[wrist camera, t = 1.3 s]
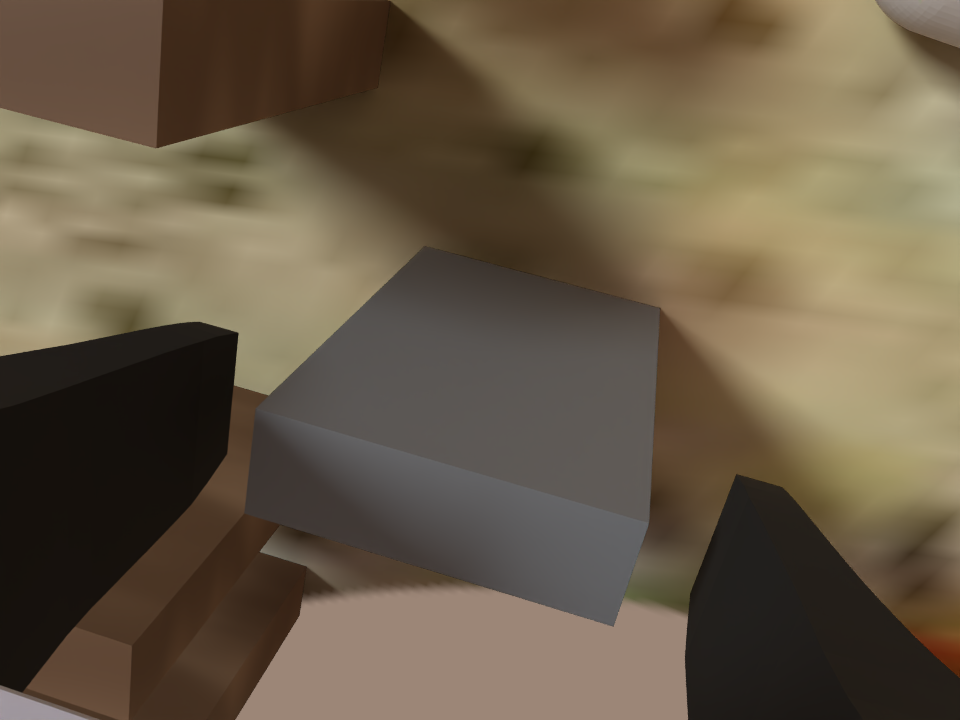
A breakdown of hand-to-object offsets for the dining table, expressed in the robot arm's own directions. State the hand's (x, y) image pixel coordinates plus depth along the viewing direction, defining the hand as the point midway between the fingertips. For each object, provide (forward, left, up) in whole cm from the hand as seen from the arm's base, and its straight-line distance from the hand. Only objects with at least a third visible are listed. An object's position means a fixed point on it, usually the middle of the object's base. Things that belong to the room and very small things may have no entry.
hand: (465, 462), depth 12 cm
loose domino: (0, 0, -7) cm, 7 cm away
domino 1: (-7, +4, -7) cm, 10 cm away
